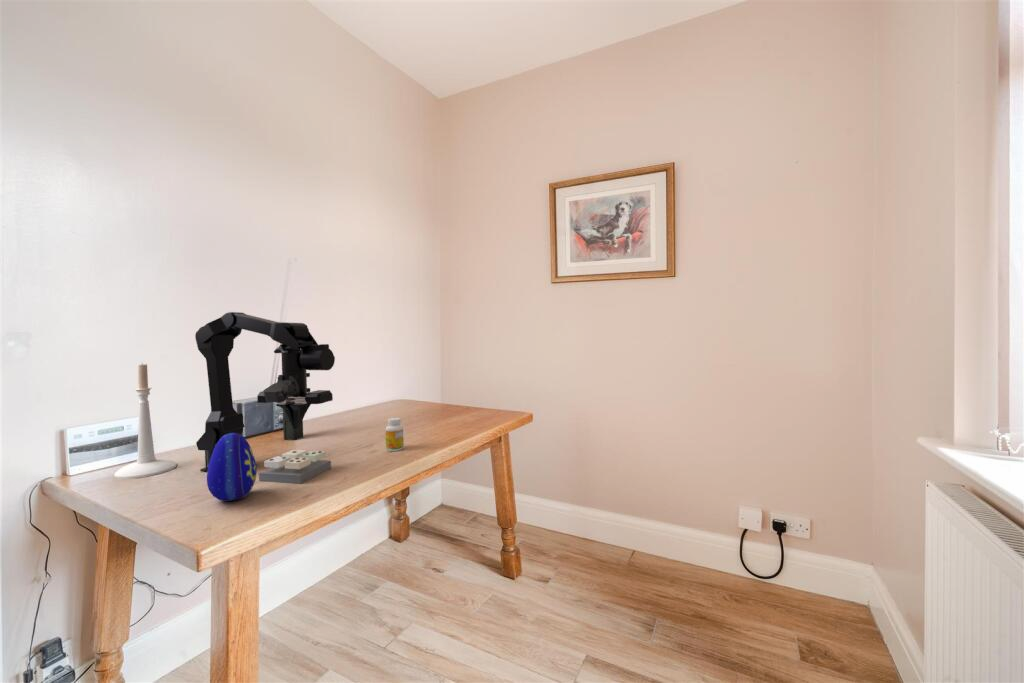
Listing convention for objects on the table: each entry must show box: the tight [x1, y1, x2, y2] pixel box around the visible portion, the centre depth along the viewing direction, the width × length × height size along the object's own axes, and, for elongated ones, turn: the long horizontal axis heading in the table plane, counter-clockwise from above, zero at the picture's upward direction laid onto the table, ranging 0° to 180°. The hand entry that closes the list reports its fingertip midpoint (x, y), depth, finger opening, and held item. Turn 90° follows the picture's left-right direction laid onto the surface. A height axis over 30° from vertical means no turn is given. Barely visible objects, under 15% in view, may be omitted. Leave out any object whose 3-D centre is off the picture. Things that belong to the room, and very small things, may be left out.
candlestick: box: [114, 363, 177, 480], centre depth 113 cm, size 13×13×30 cm
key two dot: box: [263, 455, 291, 468], centre depth 107 cm, size 4×4×2 cm
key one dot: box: [281, 449, 307, 459], centre depth 113 cm, size 4×4×2 cm
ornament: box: [206, 433, 258, 502], centre depth 93 cm, size 11×9×15 cm
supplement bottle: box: [385, 417, 405, 452], centre depth 131 cm, size 5×5×10 cm
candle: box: [282, 409, 304, 441], centre depth 146 cm, size 5×5×25 cm
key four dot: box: [285, 457, 311, 469], centre depth 106 cm, size 4×4×2 cm
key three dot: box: [301, 450, 326, 462], centre depth 111 cm, size 4×4×2 cm
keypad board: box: [258, 459, 332, 485], centre depth 109 cm, size 12×12×2 cm
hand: (296, 428), depth 109 cm, fingers closed
